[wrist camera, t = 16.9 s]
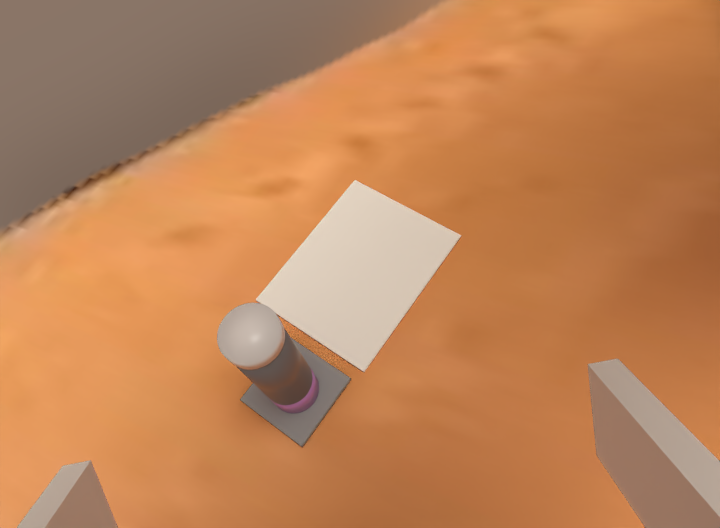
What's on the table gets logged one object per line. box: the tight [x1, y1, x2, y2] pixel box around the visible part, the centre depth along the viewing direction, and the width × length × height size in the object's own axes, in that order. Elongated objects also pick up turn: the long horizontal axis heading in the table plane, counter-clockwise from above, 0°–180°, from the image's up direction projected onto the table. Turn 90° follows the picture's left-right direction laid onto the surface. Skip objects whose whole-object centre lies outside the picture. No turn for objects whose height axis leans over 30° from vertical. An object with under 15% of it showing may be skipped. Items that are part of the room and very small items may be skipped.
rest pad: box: [240, 338, 351, 447], centre depth 44 cm, size 6×6×1 cm
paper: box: [256, 180, 461, 372], centre depth 48 cm, size 14×11×1 cm
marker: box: [217, 303, 319, 413], centre depth 38 cm, size 4×4×12 cm
